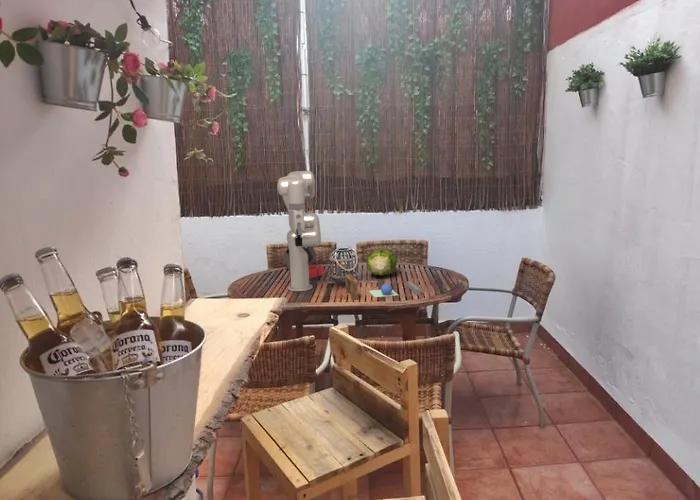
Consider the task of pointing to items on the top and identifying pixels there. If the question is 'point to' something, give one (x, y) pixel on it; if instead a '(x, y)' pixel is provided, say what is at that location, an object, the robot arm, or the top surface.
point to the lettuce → (382, 262)
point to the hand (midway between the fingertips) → (298, 245)
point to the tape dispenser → (315, 271)
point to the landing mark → (379, 294)
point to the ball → (386, 289)
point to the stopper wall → (414, 288)
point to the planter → (309, 251)
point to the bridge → (351, 286)
